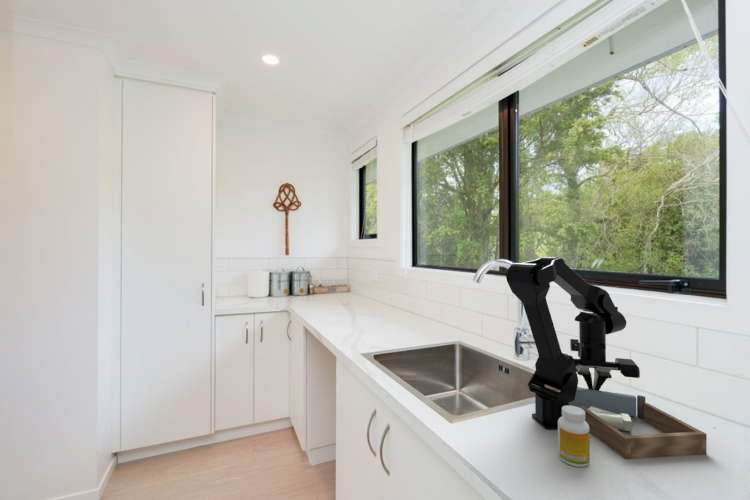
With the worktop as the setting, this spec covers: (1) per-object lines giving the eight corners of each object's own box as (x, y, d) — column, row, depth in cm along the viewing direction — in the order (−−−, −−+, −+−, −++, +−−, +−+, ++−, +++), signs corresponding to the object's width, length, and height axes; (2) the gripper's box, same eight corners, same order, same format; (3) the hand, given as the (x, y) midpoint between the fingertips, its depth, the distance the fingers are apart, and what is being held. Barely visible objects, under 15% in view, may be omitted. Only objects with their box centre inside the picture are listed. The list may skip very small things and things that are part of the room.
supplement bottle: (594, 469, 65) (594, 417, 65) (563, 466, 66) (562, 415, 66) (583, 452, 71) (583, 404, 70) (554, 449, 72) (554, 402, 71)
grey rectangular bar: (565, 405, 91) (565, 387, 91) (565, 402, 92) (564, 385, 92) (636, 416, 84) (636, 398, 84) (634, 414, 86) (634, 395, 85)
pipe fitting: (582, 418, 86) (591, 430, 79) (582, 402, 86) (590, 412, 79) (620, 422, 83) (632, 435, 77) (619, 405, 84) (631, 417, 77)
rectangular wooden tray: (625, 459, 68) (625, 433, 68) (573, 419, 84) (573, 398, 84) (707, 453, 70) (707, 428, 70) (641, 415, 85) (641, 395, 85)
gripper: (627, 331, 94) (628, 389, 94) (549, 326, 101) (550, 380, 102) (640, 344, 84) (640, 408, 84) (552, 337, 91) (553, 397, 92)
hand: (593, 397), depth 91 cm, fingers closed
